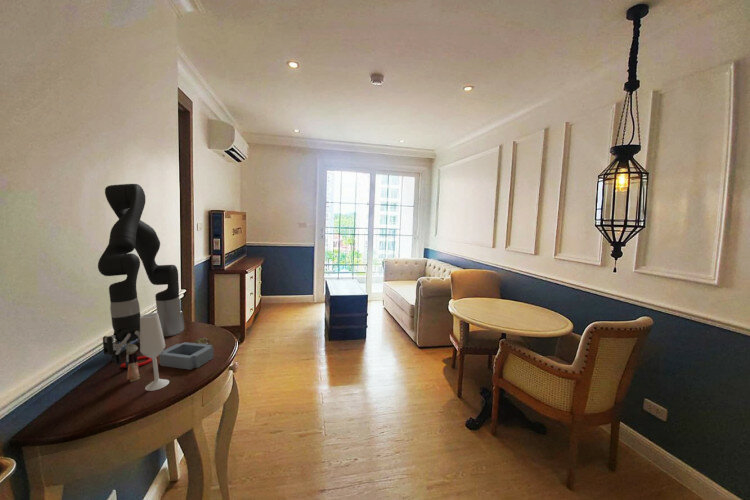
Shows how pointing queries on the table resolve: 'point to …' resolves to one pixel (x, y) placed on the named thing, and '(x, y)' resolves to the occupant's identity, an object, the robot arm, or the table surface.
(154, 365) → the champagne flute
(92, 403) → the table surface
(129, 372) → the grandmother figurine
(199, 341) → the mineral rock
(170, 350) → the well block
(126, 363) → the tow hook
